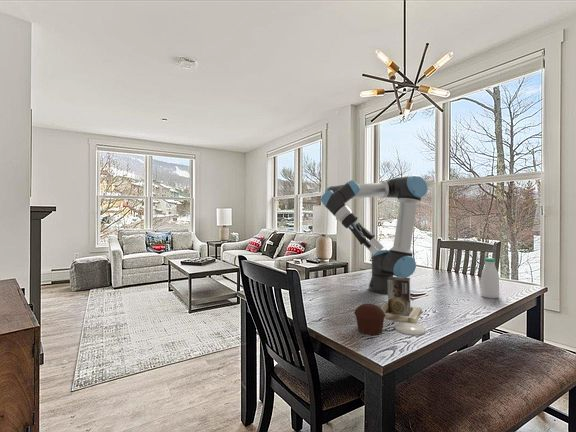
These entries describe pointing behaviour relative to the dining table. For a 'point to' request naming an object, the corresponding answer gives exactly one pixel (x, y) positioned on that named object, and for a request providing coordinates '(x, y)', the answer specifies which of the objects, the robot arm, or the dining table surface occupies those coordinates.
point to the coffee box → (399, 296)
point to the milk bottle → (490, 279)
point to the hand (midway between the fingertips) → (379, 250)
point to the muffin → (369, 319)
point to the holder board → (411, 319)
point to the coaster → (410, 328)
